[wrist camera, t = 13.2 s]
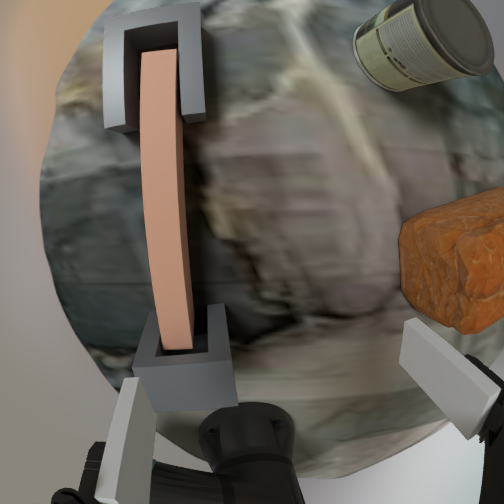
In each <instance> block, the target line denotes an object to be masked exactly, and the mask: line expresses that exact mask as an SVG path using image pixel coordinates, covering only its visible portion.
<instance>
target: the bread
mask: <svg viewBox="0 0 504 504" xmlns="http://www.w3.org/2000/svg"><path fill="white" fill-rule="evenodd" d="M399 251H400V271H401V289H402V291H403V293H404V295H405V297H406V299H407V300H408V301H409V302H410V303H411V304H412V305H413V306H414V307H415V308H416V309H417V310H418V311H419V312H422V313H423V314H425V315H426V316H428V317H429V318H431V319H433V320H435V321H436V322H438V323H440V324H442V325H444V326H446V327H454V328H455V329H456V330H458V331H459V332H460V333H462V334H463V335H466V334H475V333H479V332H481V331H483V330H484V329H486V328H487V327H489V326H490V325H492V324H493V323H495V322H497V321H498V320H499V319H501V318H502V317H503V316H504V187H498V188H494V189H491V190H488V191H485V192H482V193H478V194H475V195H472V196H469V197H466V198H463V199H460V200H457V201H454V202H451V203H448V204H445V205H442V206H439V207H435V208H432V209H429V210H426V211H423V212H421V213H419V214H417V215H415V216H413V217H412V218H410V219H409V220H407V221H406V222H405V223H403V225H402V229H401V233H400V237H399Z"/></svg>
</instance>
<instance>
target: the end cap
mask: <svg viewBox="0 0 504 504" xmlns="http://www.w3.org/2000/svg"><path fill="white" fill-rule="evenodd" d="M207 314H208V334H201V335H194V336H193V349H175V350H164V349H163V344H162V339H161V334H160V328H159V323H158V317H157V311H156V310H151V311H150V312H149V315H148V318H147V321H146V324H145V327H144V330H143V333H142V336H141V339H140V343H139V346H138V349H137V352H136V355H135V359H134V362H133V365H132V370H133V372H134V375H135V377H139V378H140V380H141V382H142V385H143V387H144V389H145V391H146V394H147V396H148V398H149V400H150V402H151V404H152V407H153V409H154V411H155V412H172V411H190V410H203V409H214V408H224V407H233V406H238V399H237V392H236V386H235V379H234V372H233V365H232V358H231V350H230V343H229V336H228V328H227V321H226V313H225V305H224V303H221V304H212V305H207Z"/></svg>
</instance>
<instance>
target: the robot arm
mask: <svg viewBox="0 0 504 504" xmlns="http://www.w3.org/2000/svg"><path fill="white" fill-rule="evenodd" d="M399 364H400V365H401V366H402V367H403V368H404V369H405V370H406V371H407V373H408V374H409V375H410V376H411V377H412V378H413V379H414V380H415V381H416V382H417V384H418V385H419V386H420V387H421V388H422V389H423V390H424V391H425V392H426V394H427V395H428V396H429V397H430V398H431V399H432V400H433V401H434V403H435V404H436V405H437V406H438V407H439V408H440V409H441V410H442V412H443V413H444V414H445V415H446V416H447V417H448V418H449V420H450V421H451V422H452V423H453V424H454V425H455V426H456V428H457V429H458V430H459V431H460V432H461V433H462V435H463V436H464V437H465V438H466V439H467V440H469V439H471V438H472V437H473V436H475V435H476V434H478V433H479V432H480V430H481V428H482V427H483V425H484V424H485V425H486V426H487V429H486V430H485V432H484V434H483V436H482V437H481V439H480V442H479V443H482V441H483V440H484V438H485V442H484V443H485V454H484V467H483V477H482V486H481V494H480V500H479V504H504V381H503V380H502V379H501V378H500V377H498V376H497V375H496V374H495V373H494V372H493V371H491V370H489V368H488V367H487V366H485V365H483V363H482V362H481V361H479V360H478V359H477V358H475V357H473V356H470V355H468V354H467V355H465V356H463V355H462V354H460V353H459V352H458V351H457V350H456V349H455V348H453V347H452V346H451V345H450V344H448V343H447V342H446V341H445V340H444V339H442V338H441V337H440V336H439V335H437V334H436V333H435V332H434V331H433V330H431V329H430V328H429V327H428V326H426V325H425V324H424V323H423V322H421V321H420V320H419V319H418V318H416V317H415V318H413V319H410V320H407V321H405V323H404V331H403V338H402V345H401V352H400V358H399ZM156 423H157V415H156V413H155V411H154V409H153V407H152V404H151V402H150V400H149V398H148V396H147V394H146V391H145V389H144V387H143V385H142V382H141V380H140V378H139V377H134V378H124V381H123V384H122V388H121V391H120V394H119V398H118V402H117V405H116V408H115V412H114V415H113V420H112V423H111V427H110V430H109V434H108V439H107V442H95V443H94V444H93V446H92V447H91V448H90V449H89V452H88V455H87V459H86V460H87V462H86V463H85V467H84V468H85V469H84V470H83V474H82V478H81V482H80V486H79V490H78V491H76V490H74V489H72V488H63V489H59V490H58V491H57V492H55V494H54V495H53V497H52V500H51V504H305V501H304V498H303V495H302V492H301V489H300V486H299V483H298V480H297V477H296V473H295V470H294V467H293V464H292V452H293V443H294V428H293V425H292V422H291V419H290V417H289V415H288V414H287V413H286V412H285V411H283V410H282V409H280V408H278V407H276V406H273V405H270V404H265V403H254V402H252V403H240V404H238V406H233V407H224V408H221V409H219V410H217V411H215V412H214V413H212V414H211V415H209V416H208V417H207V418H206V419H205V420H204V421H203V423H202V424H201V426H200V430H199V439H200V446H201V449H202V451H203V453H204V455H205V457H206V459H207V461H208V463H209V465H210V467H211V469H212V471H213V473H210V472H204V471H198V470H193V469H188V468H183V467H178V466H174V465H169V464H165V463H161V462H157V461H156V460H155V459H153V450H154V440H155V432H156Z"/></svg>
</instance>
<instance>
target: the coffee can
mask: <svg viewBox="0 0 504 504" xmlns="http://www.w3.org/2000/svg"><path fill="white" fill-rule="evenodd" d="M353 51H354V55H355V58H356V60H357V62H358V64H359V66H360V68H361V69H362V71H363V72H364V73H365V74H366V75H367V76H368V78H369V79H370V80H372V81H373V82H374V83H375V84H377V85H378V86H380V87H382V88H384V89H387V90H389V91H395V92H401V91H405V90H408V89H411V88H415V87H419V86H423V85H428V84H432V83H436V82H441V81H446V80H451V79H456V78H461V77H466V76H471V75H472V76H481V75H484V74H486V73H488V72H489V71H490V70H491V68H492V66H493V62H494V47H493V42H492V38H491V35H490V32H489V30H488V27H487V25H486V23H485V21H484V20H483V18H482V16H481V15H480V13H479V12H478V10H477V9H476V7H475V6H474V5H473V4H472V3H471V1H470V0H397V1H395V2H394V3H393V4H391V5H389V6H388V7H387V8H385V9H384V10H382V11H381V12H379V13H378V14H377V15H375V16H374V17H372V18H371V19H370V20H368V21H367V22H365V23H363V24H362V25H360V26H359V27H358V28H357V30H356V32H355V34H354V37H353Z"/></svg>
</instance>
